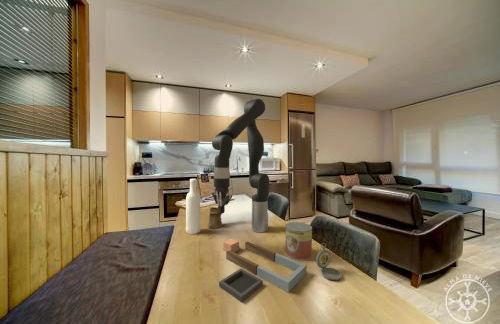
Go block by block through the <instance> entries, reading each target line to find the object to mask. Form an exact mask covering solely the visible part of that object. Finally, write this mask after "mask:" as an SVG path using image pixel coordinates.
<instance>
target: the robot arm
mask: <svg viewBox="0 0 500 324" xmlns="http://www.w3.org/2000/svg"><path fill="white" fill-rule="evenodd" d="M265 111H266V104H265V102H264V101H263V100H262V99H260V98H254V99H252V100H249V101H246V102H245V103H244V105H243V112H244V113H243V114H241V115H240V116H238V117H236V118H235V119H234V120H233V121H232V122H231V123H230V124H228V126H227V127H226V128H225V129H223V130H222V131H220V132H219V133H217V134H215V136H214V137H213V138H212V141H211V145H212V148H213V150H216V151H219V152H218V154H217V155H216V156H214V171H213V187H214V188H215V189H214V192H211V195H212V199H213V200H214V202H215V204H217V207H218V206H219V213H220V214H225V210H226V209H225V208H226V207H225V206H227V205H229V203H230V201H231V200H232V198H233V195H232V194H230V193H229V192H230V191H229V188H230V183H231V182H230V181H231V178H230V177H231V173H230V172H231V171H230V158H231V155H232V151H233V147H234V143H233V141H234V140H235V139H237V138H238V137H239V136H240V135H241V133H243V131H244V130H246V132H247V133H246V134H247V148H248V150H247V151H248V161H249V162H248V163H249V167H248V168H249V169H248V170H249V171H248V181H249V185H250V187H251V188H252V189H257V193H254V194H253V195H252V196H251V231H252V232H256V233H265V232H267V231H268V230H269V212H268V207H269V206H268V201H269V199H268V198H269V196H270V195H269V194H270V177H269V175H268V174H267V173H260V171H259V170H260V168H259V166H260V162H261V159H262V157H263V155H264V152H265V143H264V142H265V141H264V137H263V135H262V134H261V132H260V130H259V128H258V126H257V122H256V121H257V119H258V118H260V117H261V116H262V115H263V114H264V113H265Z"/></svg>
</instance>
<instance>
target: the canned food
mask: <svg viewBox="0 0 500 324" xmlns="http://www.w3.org/2000/svg"><path fill="white" fill-rule="evenodd" d="M312 245H313V227H312V225H310V224H308V223H305V222H299V221H290V222H288V223H286V224H285V250H284V251H285V255H286V257H288V258H290V259H292V260H295V261H307V260H310V259H312V256H313V250H312V249H313V246H312Z"/></svg>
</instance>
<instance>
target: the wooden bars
mask: <svg viewBox="0 0 500 324" xmlns="http://www.w3.org/2000/svg"><path fill="white" fill-rule="evenodd" d="M244 243H245V244H244V249H245V251H246V250H247V251H249V252H251V253H253V254H256V255H258V256H260V257H261V258H265V259H267V260H269V261H271V262H273V263H276V262H275V255H276V254H277V252H274V251H272V250H269V249H267V248H265V247H262V246H260V245H257V244H255V243H252V242H250V241H246V242H244ZM225 253H226V254H225V259H226V260H227V261H230V262H231V263H234V265H236V266H238V267H241V269H243V270H245V271H247V272H249V273H250V274H252V275H254V276H257V267H258V266H259V264H258V263H256V262H253V261H251V260H250V259H247V258H245V257H243V256H241V255H240V254H237V253H236V252H234V253H233V252H231V251H229V250H228V251H225Z"/></svg>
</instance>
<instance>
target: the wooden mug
mask: <svg viewBox="0 0 500 324" xmlns="http://www.w3.org/2000/svg"><path fill="white" fill-rule="evenodd" d="M208 214H209V216H208V222H207V228H208V229H215V230H216V229H221V227H223V222H222V214H220V213H219V206H218V205H217V206H213V207H209V213H208Z"/></svg>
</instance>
